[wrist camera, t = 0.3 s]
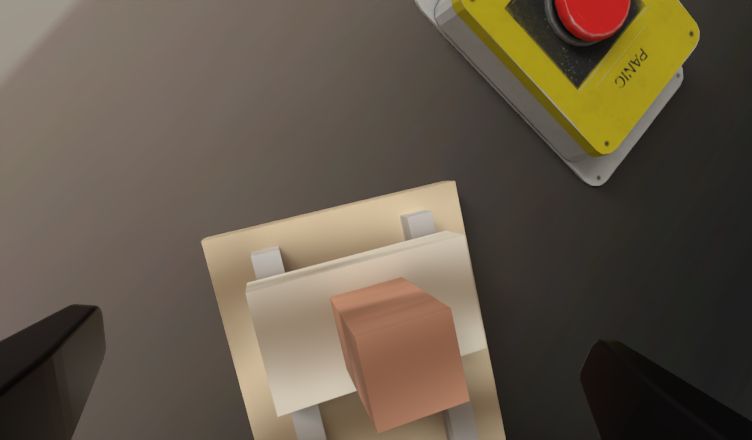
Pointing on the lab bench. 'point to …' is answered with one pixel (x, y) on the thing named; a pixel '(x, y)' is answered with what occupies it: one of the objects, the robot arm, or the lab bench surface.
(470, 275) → the slider
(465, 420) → the press bed
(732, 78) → the lab bench surface
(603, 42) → the emergency button
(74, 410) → the robot arm
